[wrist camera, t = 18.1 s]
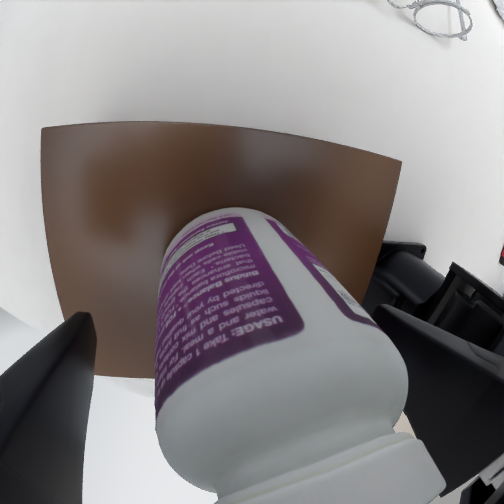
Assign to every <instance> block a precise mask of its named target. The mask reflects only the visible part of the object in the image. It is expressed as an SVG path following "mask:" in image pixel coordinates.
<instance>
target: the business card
mask: <svg viewBox="0 0 504 504" xmlns="http://www.w3.org/2000/svg"><path fill="white" fill-rule="evenodd" d="M500 263H501V264H502V265H503V266H504V250H503V252H502V256H501V258H500Z"/></svg>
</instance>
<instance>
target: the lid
mask: <svg viewBox="0 0 504 504" xmlns="http://www.w3.org/2000/svg"><path fill="white" fill-rule="evenodd" d="M401 165H402V161H400V160H396V159H393V158H390V157H386V156H383V155H380V154H376V153H372V152H369V151H365V150H361V149H357V148H353V147H349V146H345V145H341V144H337V143H332V142H328V141H323V140H318V139H313V138H308V137H303V136H297V135H292V134H286V133H280V132H274V131H267V130H260V129H252V128H244V127H236V126H226V125H215V124H203V123H187V122H160V121H124V122H99V123H84V124H72V125H62V126H53V127H45V128H42V129H41V189H42V204H43V215H44V224H45V232H46V239H47V245H48V252H49V257H50V263H51V268H52V273H53V277H54V282H55V286H56V291H57V295H58V299H59V303H60V306H61V310H62V313H63V317H64V320H65V321H66V320H67V319H68V318H69V317H71V316H72V315H73V314H74V313H76V312H78V311H81V312H89V313H91V315H92V318H93V322H94V326H95V330H96V334H97V347H96V357H95V368H94V375H100V376H111V377H127V378H151V379H155V367H154V364H155V340H156V320H157V305H158V290H159V282H160V273H161V266H162V262H163V258H164V255H165V253H166V250H167V248H168V246H169V245H170V243H171V242H172V240H173V239H174V238H175V236H176V235H177V234H178V233H179V232H180V231H181V230H182V229H183V228H184V227H185V226H186V225H187V224H189V223H190V222H191V221H193V220H194V219H196V218H197V217H199V216H201V215H203V214H206V213H209V212H212V211H215V210H219V209H224V208H233V207H240V208H248V209H253V210H257V211H260V212H263V213H265V214H267V215H269V216H271V217H273V218H274V219H276V220H277V221H279V222H280V223H281V224H282V225H283V226H284V227H286V228H287V229H288V230H289V231H290V232H291V233H292V234H293V235H294V236H295V237H296V238H297V239H298V240H299V241H300V242H301V243H302V244H303V245H304V246H305V247H306V248H307V249H308V250H309V251H310V252H311V253H312V254H313V255H314V256H315V257H316V258H317V259H318V260H319V261H320V262H321V263H322V264H323V265H324V267H325V268H326V269H327V270H328V271H329V272H330V273H331V274H332V275H333V276H334V277H335V278H336V280H337V281H338V282H339V283H340V284H341V285H342V286H343V287H344V288H345V289H346V290H347V292H348V293H349V294H350V295H351V296H352V297H353V298H354V299H355V300H356V302H357V303H358V304H359V305H360V306H361V305H362V302H363V299H364V296H365V294H366V291H367V288H368V285H369V282H370V280H371V277H372V274H373V271H374V268H375V265H376V262H377V258H378V255H379V252H380V249H381V245H382V242H383V239H384V235H385V232H386V228H387V225H388V221H389V217H390V213H391V209H392V205H393V201H394V197H395V193H396V189H397V184H398V180H399V175H400V170H401Z"/></svg>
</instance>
